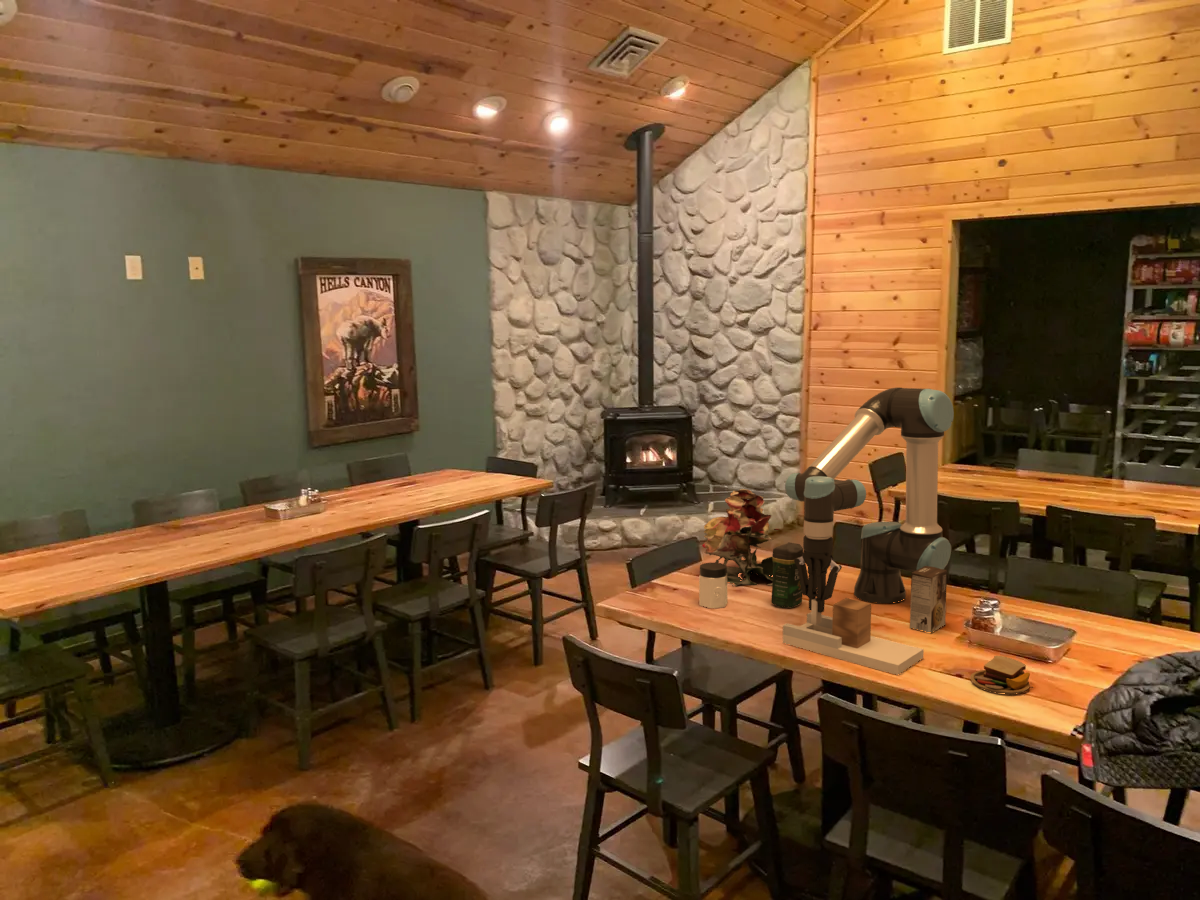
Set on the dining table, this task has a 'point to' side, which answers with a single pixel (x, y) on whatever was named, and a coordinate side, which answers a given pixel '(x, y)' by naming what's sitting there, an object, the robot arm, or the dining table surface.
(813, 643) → the slotted wooden base
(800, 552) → the coffee jar
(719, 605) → the jar
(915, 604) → the coffee box
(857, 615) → the walnut block
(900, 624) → the dining table surface
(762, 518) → the rose bouquet
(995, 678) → the toy sandwich meal
